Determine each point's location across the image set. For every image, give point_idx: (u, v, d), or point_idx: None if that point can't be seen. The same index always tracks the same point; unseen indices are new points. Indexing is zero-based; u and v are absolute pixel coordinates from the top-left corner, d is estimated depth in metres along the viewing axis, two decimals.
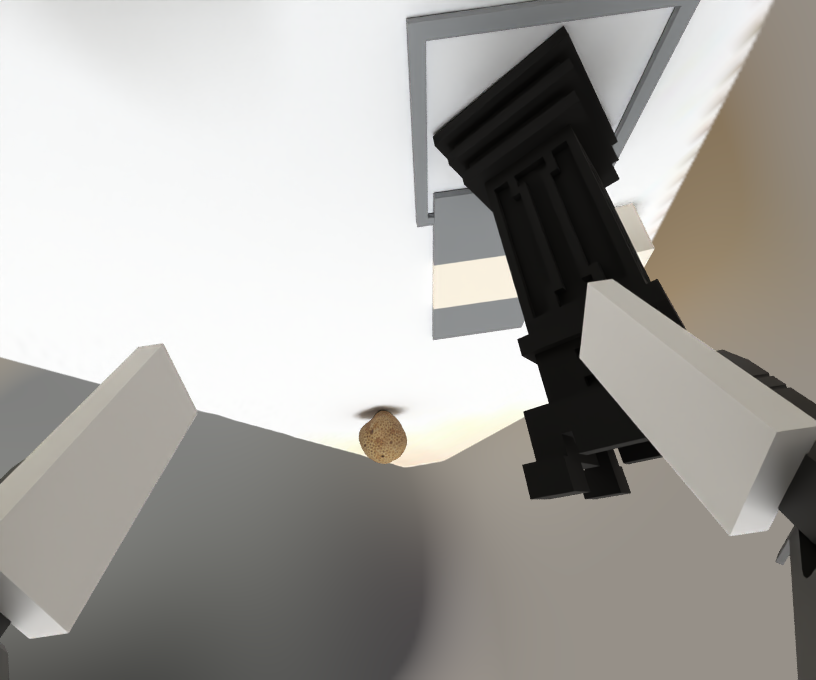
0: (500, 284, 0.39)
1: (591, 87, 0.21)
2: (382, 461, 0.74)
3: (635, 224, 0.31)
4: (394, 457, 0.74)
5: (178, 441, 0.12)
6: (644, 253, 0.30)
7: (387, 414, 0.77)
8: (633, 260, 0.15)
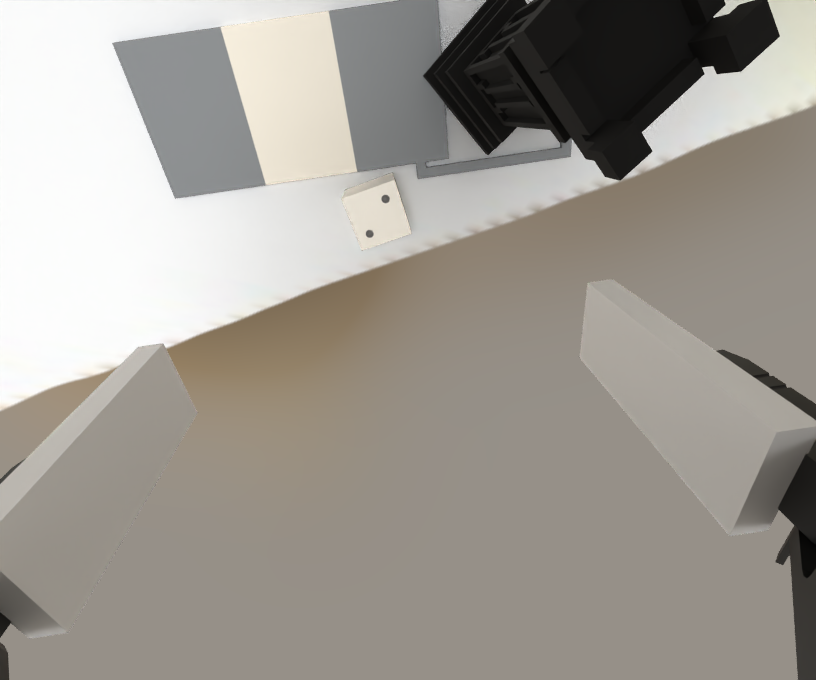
0: (288, 123, 0.33)
1: None
2: None
3: None
4: None
5: (178, 441, 0.12)
6: (405, 228, 0.34)
7: None
8: None
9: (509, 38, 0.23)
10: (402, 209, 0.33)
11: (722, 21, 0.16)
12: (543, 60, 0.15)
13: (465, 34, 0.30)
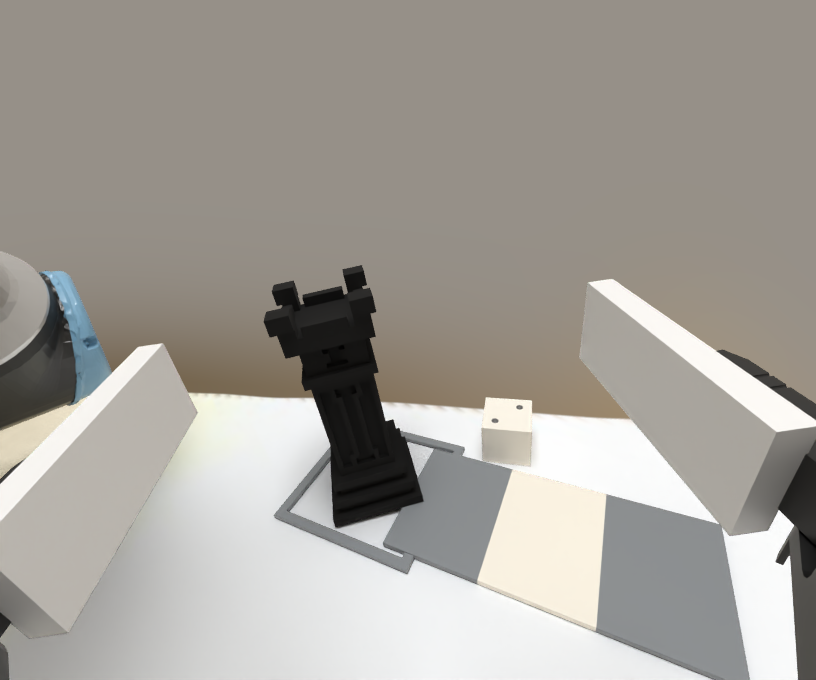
0: (560, 525, 0.32)
1: None
2: None
3: None
4: None
5: (178, 441, 0.12)
6: (489, 401, 0.41)
7: None
8: None
9: (362, 413, 0.32)
10: (485, 411, 0.39)
11: (286, 302, 0.31)
12: (369, 289, 0.28)
13: (378, 504, 0.35)
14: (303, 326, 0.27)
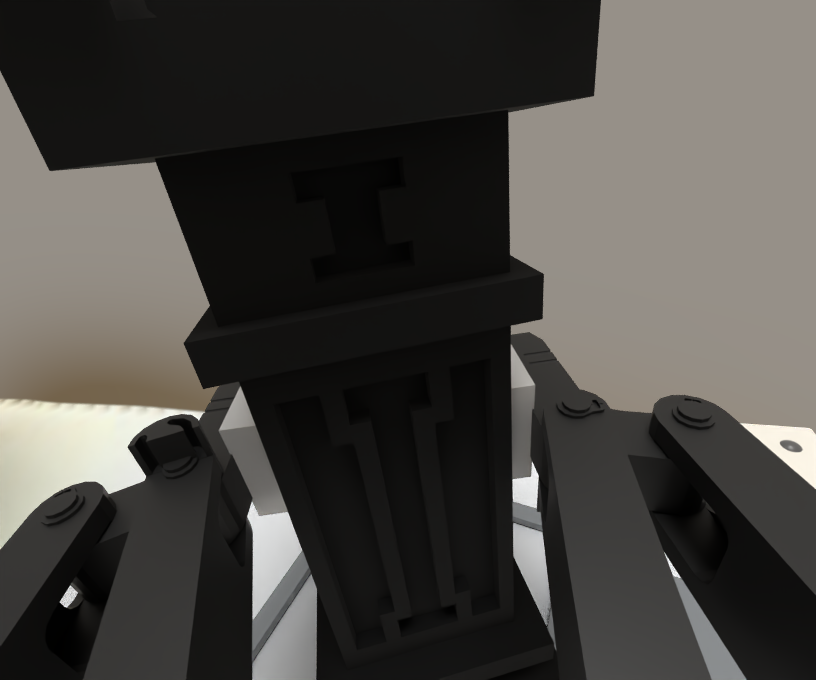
0: None
1: None
2: None
3: None
4: None
5: None
6: None
7: None
8: None
9: (440, 483, 0.09)
10: None
11: None
12: None
13: None
14: None
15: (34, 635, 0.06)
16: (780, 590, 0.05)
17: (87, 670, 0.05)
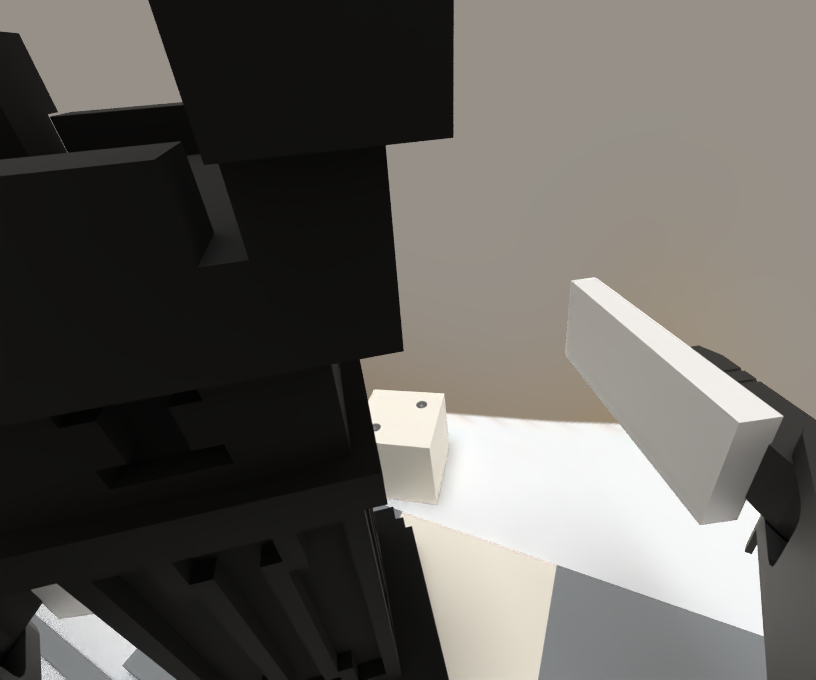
0: (460, 634, 0.17)
1: None
2: None
3: None
4: None
5: None
6: (376, 395, 0.25)
7: None
8: None
9: (306, 608, 0.08)
10: None
11: None
12: None
13: None
14: None
15: None
16: None
17: None
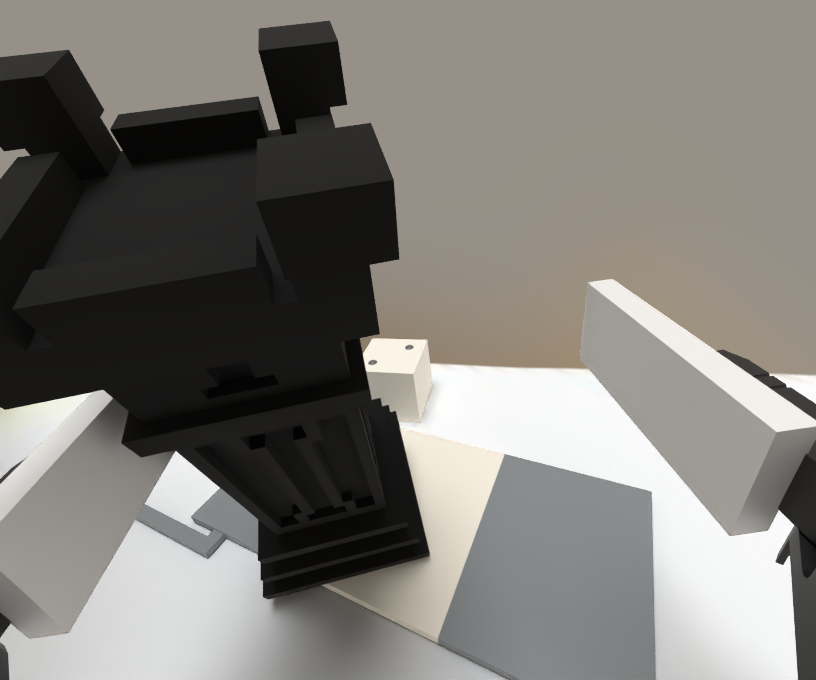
0: (431, 493, 0.23)
1: None
2: None
3: None
4: None
5: None
6: (374, 342, 0.32)
7: None
8: None
9: (322, 464, 0.13)
10: (365, 352, 0.30)
11: (40, 142, 0.08)
12: (373, 135, 0.06)
13: (348, 565, 0.19)
14: (35, 298, 0.05)
15: None
16: None
17: None
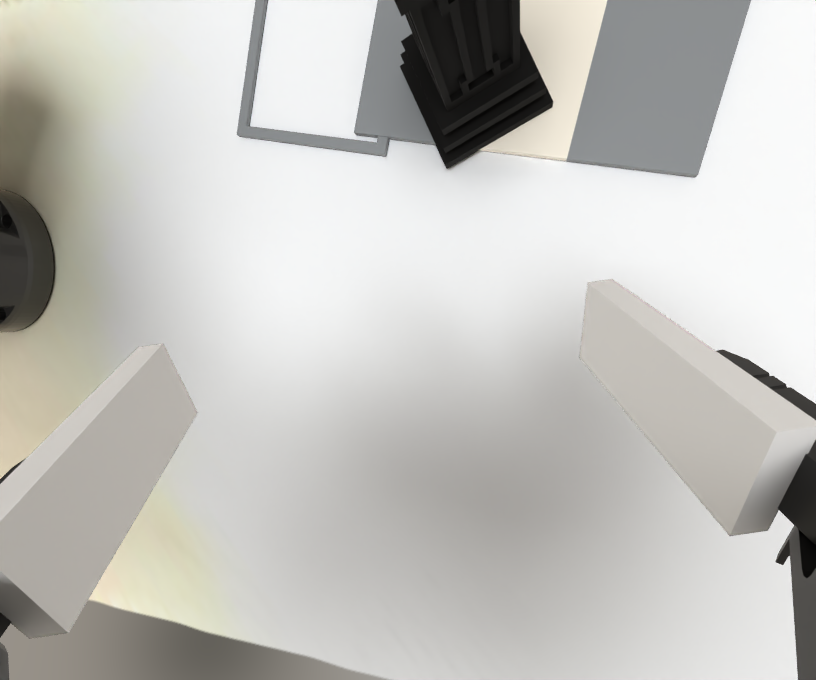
0: (544, 51, 0.27)
1: None
2: None
3: None
4: None
5: (178, 441, 0.12)
6: None
7: None
8: None
9: (486, 14, 0.19)
10: None
11: None
12: None
13: (495, 129, 0.28)
14: None
15: None
16: None
17: None
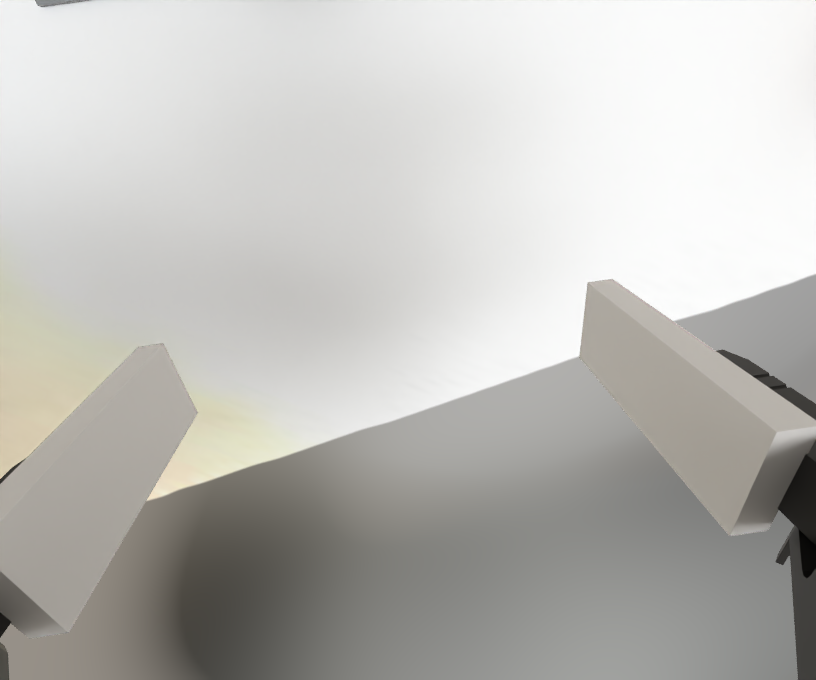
0: None
1: None
2: None
3: None
4: None
5: (178, 441, 0.12)
6: None
7: None
8: None
9: None
10: None
11: None
12: None
13: None
14: None
15: None
16: None
17: None
